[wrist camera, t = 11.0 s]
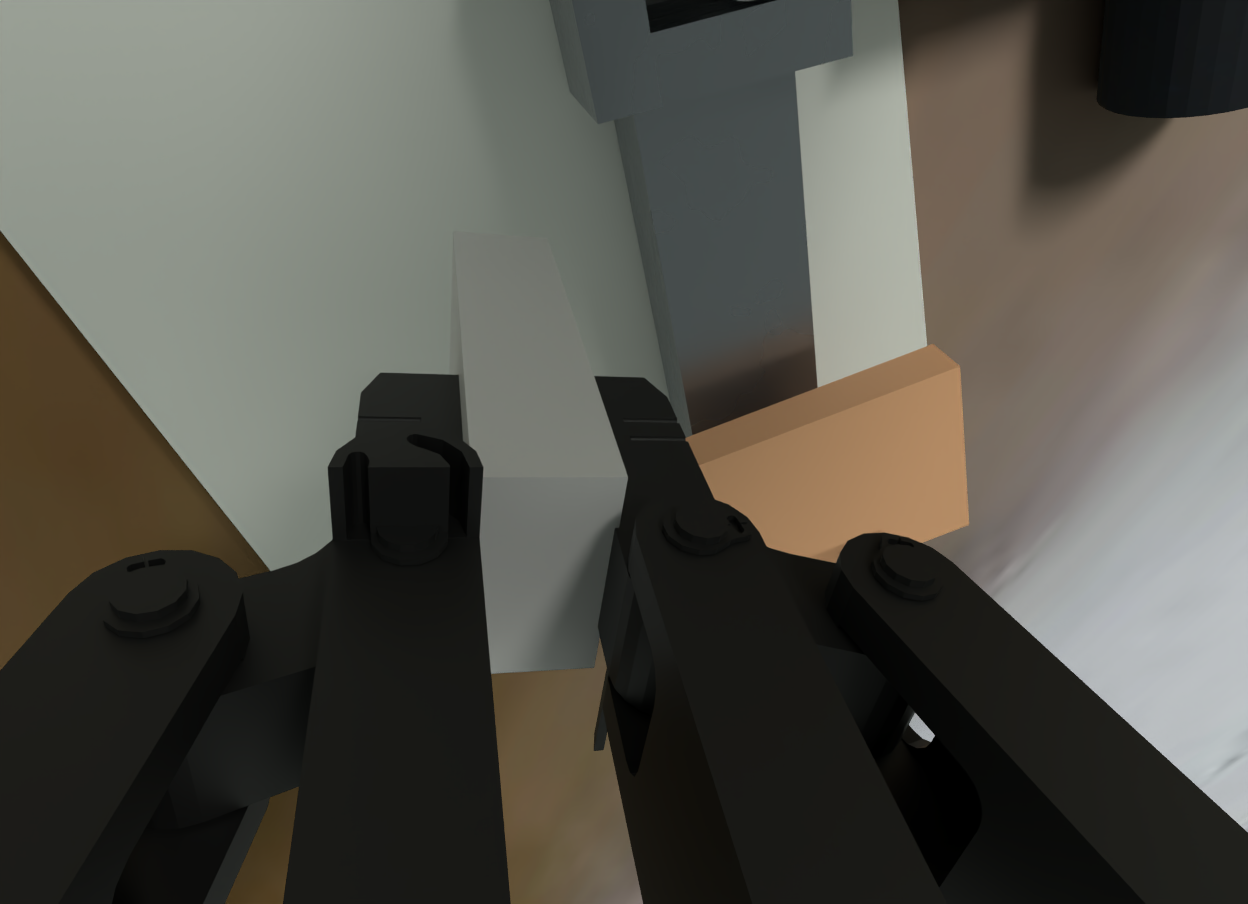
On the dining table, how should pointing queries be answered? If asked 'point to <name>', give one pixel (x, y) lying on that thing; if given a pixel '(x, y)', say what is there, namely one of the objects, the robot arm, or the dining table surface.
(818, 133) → the board
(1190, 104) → the pipe connector
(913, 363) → the keeper
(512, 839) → the dining table surface
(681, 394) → the link
